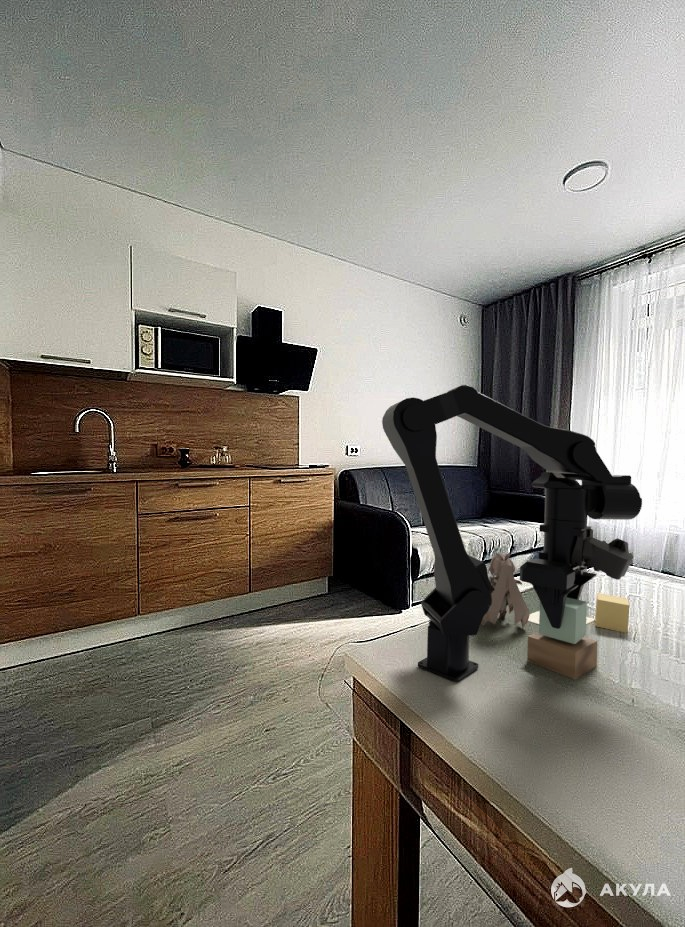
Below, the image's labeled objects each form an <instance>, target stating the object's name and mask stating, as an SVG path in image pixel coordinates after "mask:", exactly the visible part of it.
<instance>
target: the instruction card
mask: <svg viewBox="0 0 685 927" xmlns="http://www.w3.org/2000/svg"><path fill="white" fill-rule="evenodd" d="M529 615H530V616H529V619H528V621H527V623H532V624H536V625H539V616H540V610H537V611H535V612H533V613H529ZM593 622H595V618H593V617H588V616H586V626H587V625H588V624H591V623H593Z"/></svg>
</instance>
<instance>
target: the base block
mask: <svg viewBox="0 0 685 927" xmlns="http://www.w3.org/2000/svg"><path fill="white" fill-rule="evenodd" d="M526 651H527V652H526V653H527V655H526V656H527V657H526V658H527V662H529V663H531V662H532V663H531V664H534V665H537V666H539V667H542V668H544V669H547V670H549V671H551V672H554V671H555V673H557V674H560V675H562V674H563V676H565V677H567V676H568V678H570V677H571V678H570V679H572V678H574V679H573V680H576V679H578V678H580V677H582V676H583V675H585V674H586V673H588V672H589V670H590V669H591V670H593V669H594V667H595V666H596V667H597V665H598V664H597V663H598V640H596V639H592V638H589V637H586V636H584V637H583V638H582V639H581V640H579V641H578V642H577V643H576V644H573V643H569V642H566V641H562V640H558V639H555V638H551V637H548V636H544V635H541V634H539V631H537V632H534V633H532V634H529V635H527V650H526ZM596 667H595V668H596ZM592 668H593V669H592ZM591 670H590V671H591ZM587 671H588V672H587ZM584 673H585V674H584ZM582 674H583V675H582ZM579 676H580V677H579ZM577 677H578V678H577Z"/></svg>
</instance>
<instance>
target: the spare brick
mask: <svg viewBox="0 0 685 927" xmlns="http://www.w3.org/2000/svg"><path fill="white" fill-rule="evenodd" d="M595 600H596V601H595V613H594V619H595V621H594V625H595V626H594V627H597V628H602V629H607V630H612V631H617V632H621V633H628V629H629V617H630V603H629V599H628V598H627V597H622V596H616V595H612V594H605V593H600V592H596V599H595Z"/></svg>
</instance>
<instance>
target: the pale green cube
mask: <svg viewBox="0 0 685 927" xmlns="http://www.w3.org/2000/svg"><path fill="white" fill-rule="evenodd" d="M587 603H588V601H585V600H581V599H579V600H577V599H572V598H566V603H565V609H564V614H563V619H562V623H561V627H560V628H559V629H557V628H553V627H552V626H551V624H550V622H549V619H548V617H547V615H546V613H545V610H544V608H543V606H542V604H541V602H540V601H539V611H540V616H539V626H538V632H539V634H541V635H544V636H548V637H551V638H555V639H558V640H562V641H566V642H569V643H573V644H576V643H577V642H578V641H579V640H581V639H582V638H583V637H586V636H587V625H586V617H587V609H588V608H587V606H588V605H587Z"/></svg>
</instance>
